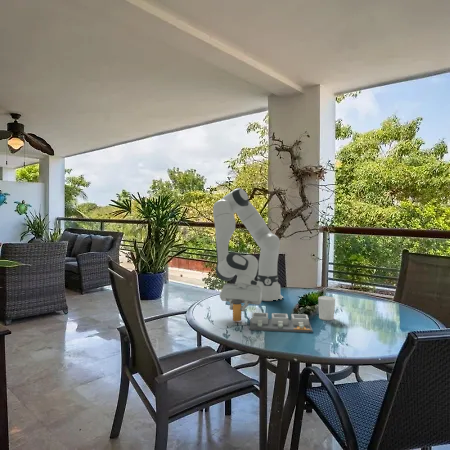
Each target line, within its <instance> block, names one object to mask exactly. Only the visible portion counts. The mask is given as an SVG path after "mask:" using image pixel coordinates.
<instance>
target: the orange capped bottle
mask: <svg viewBox="0 0 450 450" xmlns="http://www.w3.org/2000/svg"><path fill="white" fill-rule="evenodd" d="M232 305H233V310H232V321H233V322H241V321H242V311H241V310H240V308H241V306H242V303H241V300H233V304H232Z"/></svg>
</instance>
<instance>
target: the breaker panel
mask: <svg viewBox="0 0 450 450" xmlns="http://www.w3.org/2000/svg"><path fill="white" fill-rule="evenodd" d="M248 328H249V331H268V332H290V333H291V332H292V333H309V332H313V333H314V331H313V328H312V325H311V323H310V320H309V316H308V314H305V313H304V314H301V313H298V314H297V313H291V318H290V319H289V316H288V313H278V312H277V313H275V312H272V313H271V318H269V313H268V312H255V311H254V312H252V315H251V317H250V320H249V327H248Z"/></svg>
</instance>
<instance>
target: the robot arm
mask: <svg viewBox="0 0 450 450" xmlns="http://www.w3.org/2000/svg"><path fill="white" fill-rule="evenodd" d="M212 208H213V210H212V211H213V212H212V213H213V215H212V216H213V222H214V229H215V230H214V231H215V250H216V260H217V261H216V262H217V264H216V268H215V274H216V276H217V277H218V278H219V279H220V280H221V281H224V282H228V283H225V284H223V286H222V288H221V292H220V293H219V298H220V300H221V301H222V302H229V310H231V311H233V300H241V304H243V305H241V308H240V310H241V312H245V310H246V308H247V307H248V306H249V305H257V306H258V305H259V306H260V305H261V303H262V301H264V302H274V301H273V300H276V301H279V300H278V299H280V300H283V299H282V298H284V296H283V295H282V294H281V284H280V283H279V282H278V281H279V275H278V261H279V254H280V248H281V240H280V237H279V236H277V235H276V233H275V234H274V233H272V231H271V230H270V228H269V227H268V225H267V223H266V221H265V220H264V218H263V217H262V215H261V214H260V212H259V211H258V210H257V209H256V207H255V206H254V205H253V204H252V203H251V201H250V200H249V195H248V193H247V192H246V190H244V188H241V187H238V188H235V189H233V190H231V191H230V192H229V193H227V194H226V195H224V196H223V197H222V198H221V199H219V200H217V201H216V202H214V204H213V207H212ZM234 214H236V215H237V217H238V218H239V220H240V221H241V223H242V224H243V225H244V227H245V228H246V230H247V231H248V233H249V234H250V236H251V237H252V239H253V241H254V242H255V243H256V244H257V246H258V247H259V248H260V250H259V251H260V252H259V258H258V259H257V258H256V256H254V255H253V254H246V255H244V254H240V253H237V252H234V251H233V252H230V253H229V244H230V240H231V237H232V236H233V234H234V232H235V231H236V217H235V215H234ZM235 276H237V277H236V280H235V282H234V283H229V281H231V280H233V279H234V277H235ZM256 276H257V280H255V278H256Z"/></svg>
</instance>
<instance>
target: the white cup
mask: <svg viewBox="0 0 450 450" xmlns="http://www.w3.org/2000/svg"><path fill="white" fill-rule="evenodd" d="M317 300H318V318H319V319H320V320H322V321H334V319H335V308H336V298H335V297H333V296H327V295H326V296H325V295H324V296H323V295H321V296H318V299H317Z"/></svg>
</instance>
